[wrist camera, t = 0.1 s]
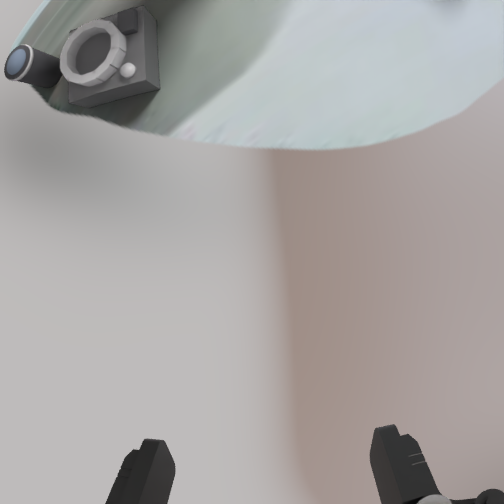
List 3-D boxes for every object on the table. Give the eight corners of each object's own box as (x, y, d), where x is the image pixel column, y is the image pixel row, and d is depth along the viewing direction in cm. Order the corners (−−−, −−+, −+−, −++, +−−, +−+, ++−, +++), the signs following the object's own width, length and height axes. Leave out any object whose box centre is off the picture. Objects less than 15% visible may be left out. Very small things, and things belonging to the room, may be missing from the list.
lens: (39, 64, 32) (4, 53, 25) (64, 52, 32) (30, 38, 24) (38, 93, 34) (2, 85, 26) (63, 82, 33) (28, 71, 26)
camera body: (88, 42, 32) (61, 26, 25) (156, 20, 31) (137, -2, 24) (89, 108, 34) (59, 100, 28) (160, 89, 34) (139, 75, 27)
